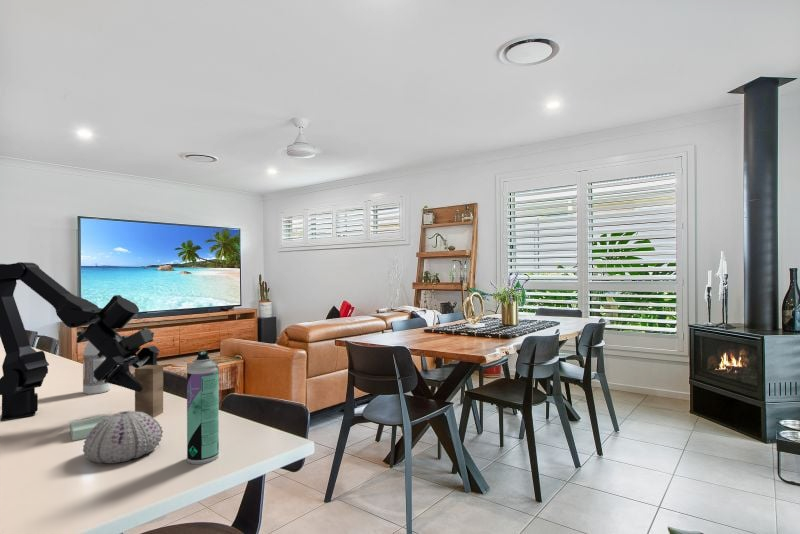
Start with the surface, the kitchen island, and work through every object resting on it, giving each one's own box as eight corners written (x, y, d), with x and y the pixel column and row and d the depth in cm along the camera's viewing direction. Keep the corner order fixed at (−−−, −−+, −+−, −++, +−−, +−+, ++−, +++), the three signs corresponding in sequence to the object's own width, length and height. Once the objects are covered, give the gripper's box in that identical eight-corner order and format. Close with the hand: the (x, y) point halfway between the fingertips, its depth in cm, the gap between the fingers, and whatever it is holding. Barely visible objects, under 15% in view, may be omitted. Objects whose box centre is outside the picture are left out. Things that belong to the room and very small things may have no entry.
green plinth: (73, 440, 95) (73, 431, 95) (70, 430, 101) (70, 421, 101) (117, 431, 100) (117, 422, 100) (112, 423, 106) (112, 414, 106)
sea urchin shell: (177, 444, 92) (177, 405, 93) (120, 472, 79) (120, 426, 80) (126, 438, 96) (126, 401, 96) (63, 464, 83) (63, 420, 83)
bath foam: (84, 390, 137) (84, 325, 138) (111, 387, 140) (111, 323, 141) (81, 395, 131) (81, 327, 131) (109, 392, 134) (109, 325, 135)
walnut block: (134, 418, 110) (134, 368, 110) (145, 412, 114) (145, 365, 114) (153, 418, 110) (153, 368, 110) (163, 412, 114) (163, 365, 114)
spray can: (209, 450, 89) (209, 348, 89) (224, 457, 85) (223, 351, 86) (181, 459, 84) (181, 352, 85) (195, 466, 81) (195, 355, 81)
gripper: (105, 322, 103) (153, 370, 103) (152, 315, 122) (192, 356, 121) (72, 357, 103) (119, 405, 103) (123, 345, 122) (164, 385, 121)
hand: (152, 385), depth 112 cm, fingers open, 9 cm apart
